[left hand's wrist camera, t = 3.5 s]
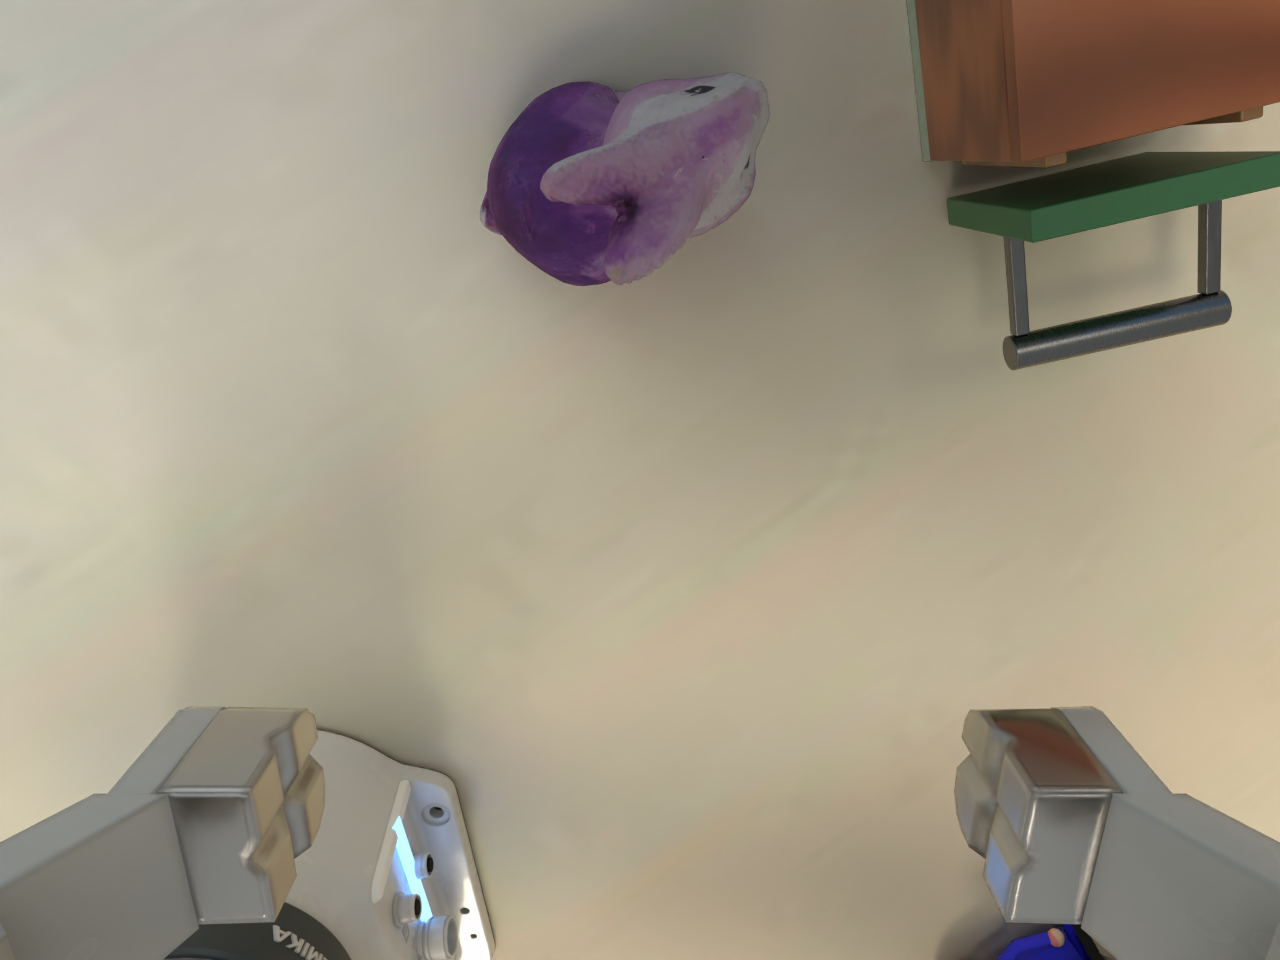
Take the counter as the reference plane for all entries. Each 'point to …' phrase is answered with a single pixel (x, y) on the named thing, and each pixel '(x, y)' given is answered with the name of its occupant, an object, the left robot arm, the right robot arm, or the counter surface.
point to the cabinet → (1082, 71)
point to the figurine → (623, 173)
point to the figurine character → (1057, 946)
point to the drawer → (1107, 201)
